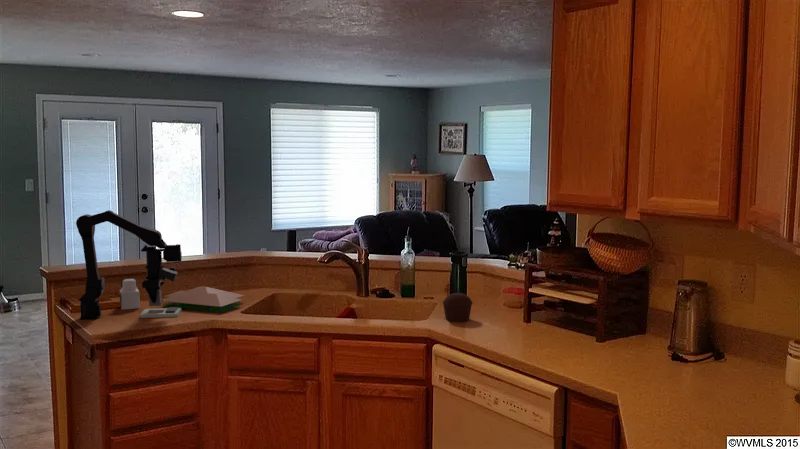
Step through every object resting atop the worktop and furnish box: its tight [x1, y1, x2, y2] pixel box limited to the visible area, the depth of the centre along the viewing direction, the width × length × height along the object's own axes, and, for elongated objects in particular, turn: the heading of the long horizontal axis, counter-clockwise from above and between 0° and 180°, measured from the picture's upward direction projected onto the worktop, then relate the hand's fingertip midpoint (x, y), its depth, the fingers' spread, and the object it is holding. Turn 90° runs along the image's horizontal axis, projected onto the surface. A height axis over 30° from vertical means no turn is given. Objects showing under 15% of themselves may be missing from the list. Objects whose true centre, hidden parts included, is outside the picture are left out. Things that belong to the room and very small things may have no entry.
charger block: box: [148, 288, 163, 307], centre depth 286 cm, size 4×4×6 cm
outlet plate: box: [139, 306, 183, 319], centre depth 287 cm, size 14×11×2 cm
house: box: [162, 286, 245, 314], centre depth 305 cm, size 23×33×8 cm
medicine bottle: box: [119, 277, 141, 311], centre depth 299 cm, size 7×7×12 cm
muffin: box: [442, 292, 473, 323], centre depth 278 cm, size 12×11×10 cm
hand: (155, 301), depth 286 cm, fingers closed on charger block, 4 cm apart
